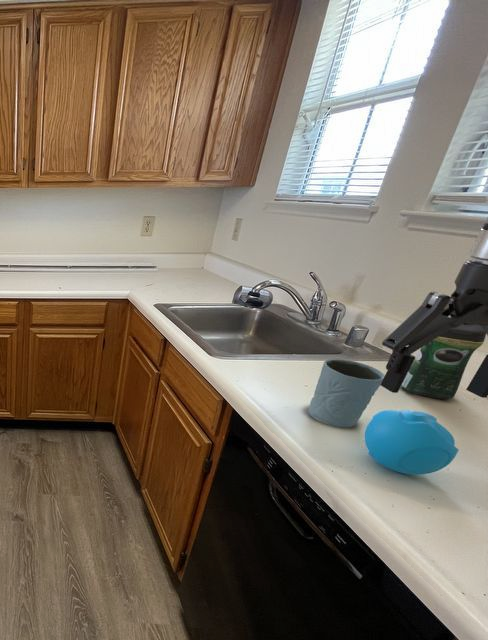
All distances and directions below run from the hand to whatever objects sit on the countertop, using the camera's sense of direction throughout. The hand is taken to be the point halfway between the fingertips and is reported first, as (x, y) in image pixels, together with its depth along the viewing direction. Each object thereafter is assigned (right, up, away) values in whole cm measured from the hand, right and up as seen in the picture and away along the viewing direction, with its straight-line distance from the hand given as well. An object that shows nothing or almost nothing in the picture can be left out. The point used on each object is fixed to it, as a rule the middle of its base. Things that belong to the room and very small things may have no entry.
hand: (431, 391), depth 70 cm
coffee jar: (+34, -2, +34) cm, 48 cm away
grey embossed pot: (+2, -7, +22) cm, 23 cm away
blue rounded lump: (0, -14, +7) cm, 16 cm away
